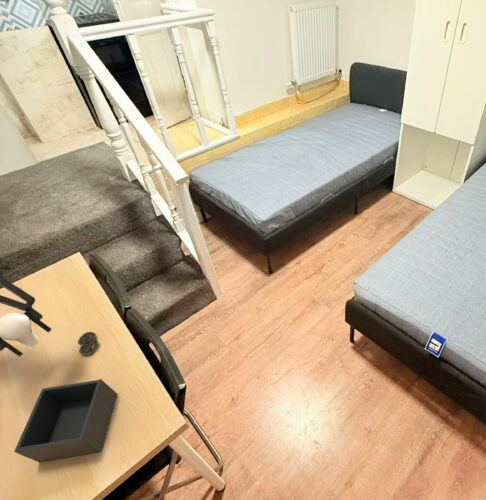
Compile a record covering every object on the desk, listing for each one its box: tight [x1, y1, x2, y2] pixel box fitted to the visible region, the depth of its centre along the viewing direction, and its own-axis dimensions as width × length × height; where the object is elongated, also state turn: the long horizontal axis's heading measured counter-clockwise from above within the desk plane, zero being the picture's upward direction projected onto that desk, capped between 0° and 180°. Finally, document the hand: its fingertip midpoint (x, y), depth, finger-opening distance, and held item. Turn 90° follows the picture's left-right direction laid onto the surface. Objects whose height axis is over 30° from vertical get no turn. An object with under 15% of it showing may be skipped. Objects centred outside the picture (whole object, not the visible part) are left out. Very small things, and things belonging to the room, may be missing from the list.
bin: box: [13, 378, 118, 463], centre depth 78 cm, size 13×13×9 cm
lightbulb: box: [0, 311, 40, 348], centre depth 77 cm, size 6×6×11 cm
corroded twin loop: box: [77, 331, 99, 355], centre depth 96 cm, size 5×8×1 cm, turn 35°
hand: (35, 342), depth 77 cm, fingers closed on lightbulb, 6 cm apart
